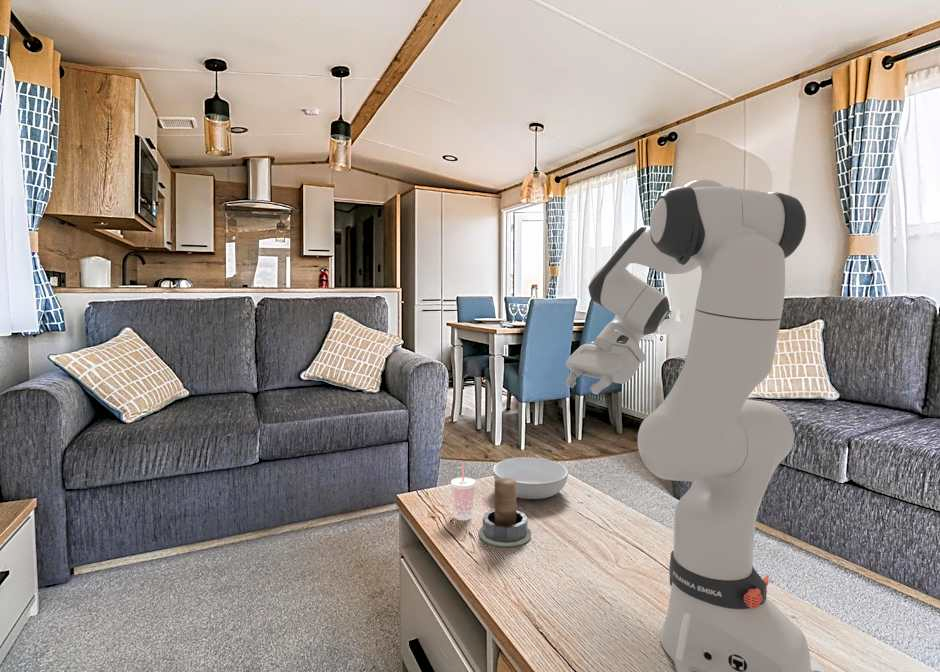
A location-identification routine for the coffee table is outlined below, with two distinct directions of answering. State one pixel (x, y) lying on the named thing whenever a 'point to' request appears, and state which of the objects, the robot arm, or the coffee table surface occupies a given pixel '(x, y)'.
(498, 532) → the cup holder
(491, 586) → the coffee table surface
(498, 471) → the serving bowl
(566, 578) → the coffee table surface
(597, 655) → the coffee table surface
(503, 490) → the brown rounded cylinder
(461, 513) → the beverage cup
